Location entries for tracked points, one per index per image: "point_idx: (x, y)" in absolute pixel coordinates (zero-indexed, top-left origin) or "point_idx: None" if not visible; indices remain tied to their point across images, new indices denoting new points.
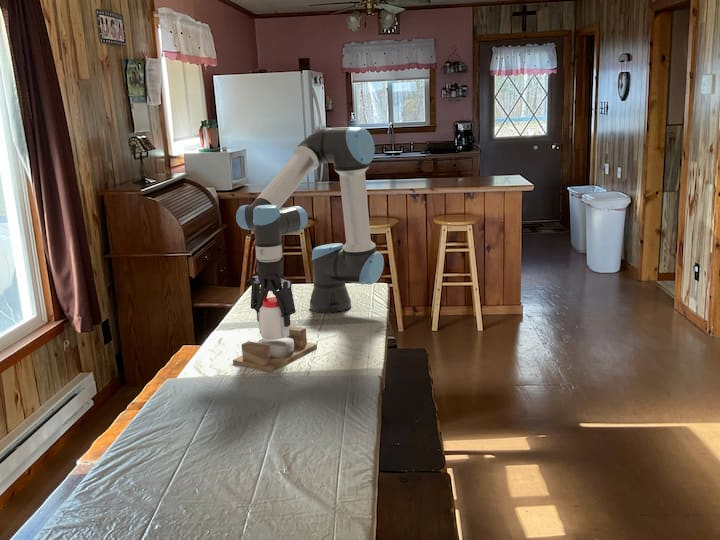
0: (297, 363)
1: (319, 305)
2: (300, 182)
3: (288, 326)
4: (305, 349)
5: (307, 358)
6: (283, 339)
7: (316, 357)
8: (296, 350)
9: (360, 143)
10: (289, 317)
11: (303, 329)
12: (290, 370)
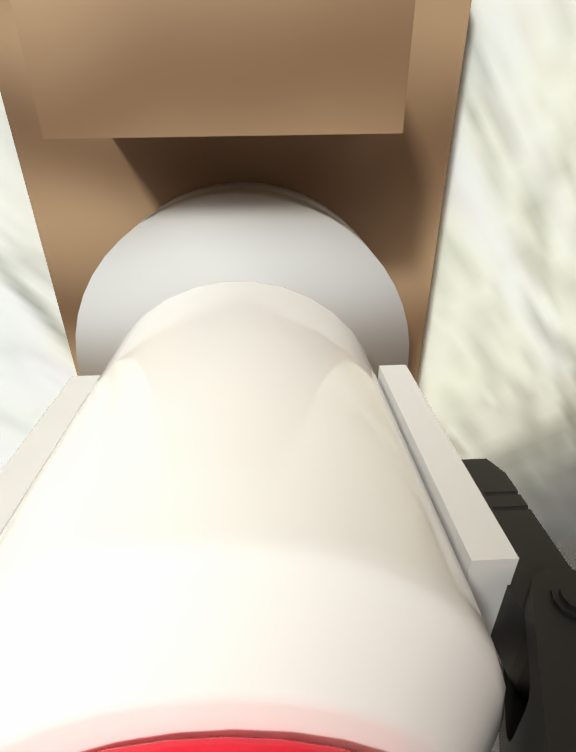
0: (467, 354)
1: None
2: None
3: (437, 429)
4: (440, 172)
5: (492, 252)
6: (263, 280)
7: (551, 201)
8: (380, 233)
9: None
10: (554, 561)
11: (410, 38)
12: (479, 445)
